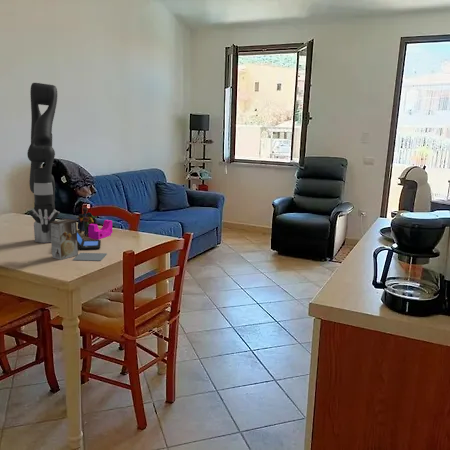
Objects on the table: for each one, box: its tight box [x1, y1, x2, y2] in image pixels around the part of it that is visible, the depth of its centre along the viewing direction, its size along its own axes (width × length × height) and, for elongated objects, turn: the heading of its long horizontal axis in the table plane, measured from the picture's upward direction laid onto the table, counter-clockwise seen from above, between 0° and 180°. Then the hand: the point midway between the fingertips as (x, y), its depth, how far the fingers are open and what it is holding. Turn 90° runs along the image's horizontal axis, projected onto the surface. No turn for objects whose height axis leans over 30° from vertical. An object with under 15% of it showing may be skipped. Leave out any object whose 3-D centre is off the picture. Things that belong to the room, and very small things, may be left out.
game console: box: [77, 231, 102, 251], centre depth 211 cm, size 16×14×9 cm
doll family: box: [75, 206, 99, 239], centre depth 235 cm, size 23×9×13 cm, turn 40°
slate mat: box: [72, 252, 108, 262], centre depth 194 cm, size 12×11×1 cm
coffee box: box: [50, 218, 79, 261], centre depth 192 cm, size 9×6×16 cm
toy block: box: [88, 219, 113, 240], centre depth 232 cm, size 15×6×8 cm, turn 158°
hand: (45, 232), depth 192 cm, fingers closed
